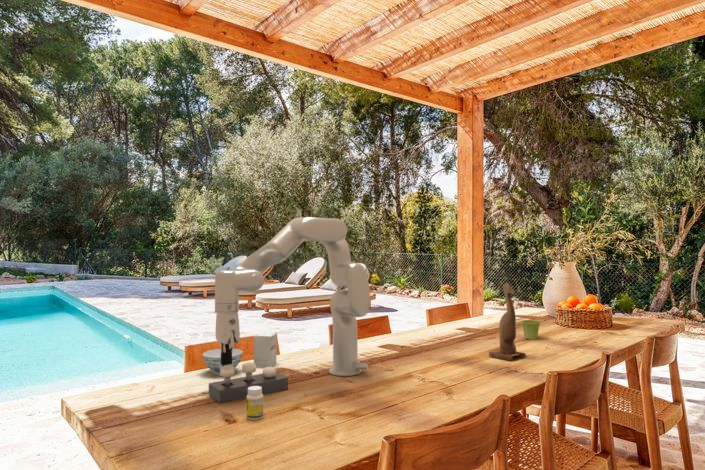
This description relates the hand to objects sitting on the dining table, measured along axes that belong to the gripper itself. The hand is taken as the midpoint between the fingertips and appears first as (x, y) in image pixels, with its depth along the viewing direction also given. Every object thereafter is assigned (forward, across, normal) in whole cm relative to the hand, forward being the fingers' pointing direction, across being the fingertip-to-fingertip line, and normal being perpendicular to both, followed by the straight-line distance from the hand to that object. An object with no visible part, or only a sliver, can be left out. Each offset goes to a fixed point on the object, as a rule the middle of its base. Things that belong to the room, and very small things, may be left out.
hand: (226, 364), depth 158 cm
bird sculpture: (+9, -22, -116) cm, 119 cm away
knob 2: (+9, 0, -15) cm, 18 cm away
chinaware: (+11, +30, -10) cm, 33 cm away
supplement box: (+10, +30, -28) cm, 42 cm away
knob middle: (+7, 0, -8) cm, 10 cm away
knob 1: (+7, 0, 0) cm, 7 cm away
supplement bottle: (+11, -23, 0) cm, 25 cm away
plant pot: (+9, -4, -159) cm, 159 cm away
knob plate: (+10, 0, -8) cm, 13 cm away
